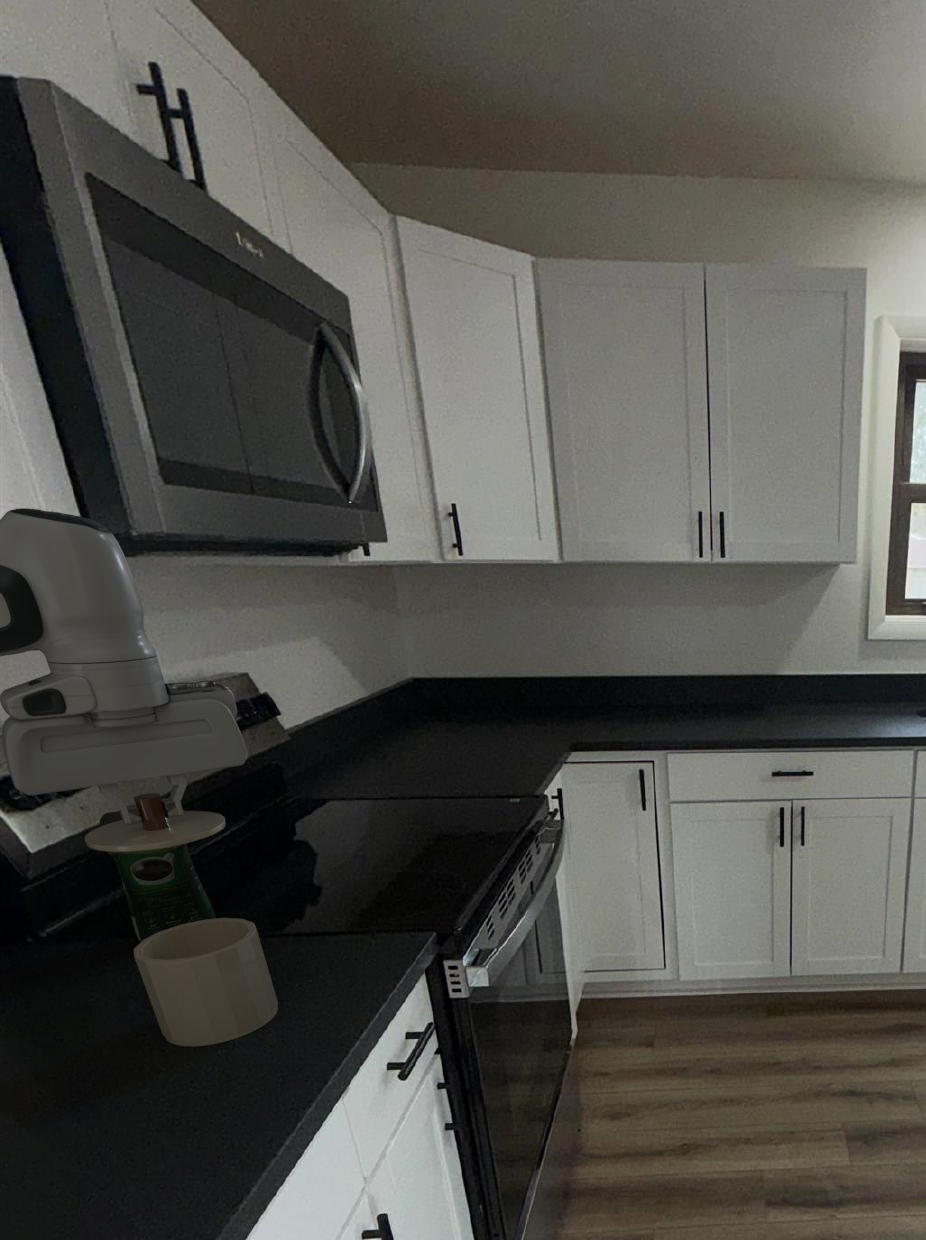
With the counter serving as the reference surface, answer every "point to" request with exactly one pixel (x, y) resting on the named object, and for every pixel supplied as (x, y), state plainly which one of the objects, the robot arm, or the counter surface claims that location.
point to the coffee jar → (160, 887)
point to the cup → (207, 981)
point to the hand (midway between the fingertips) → (154, 819)
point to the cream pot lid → (154, 828)
